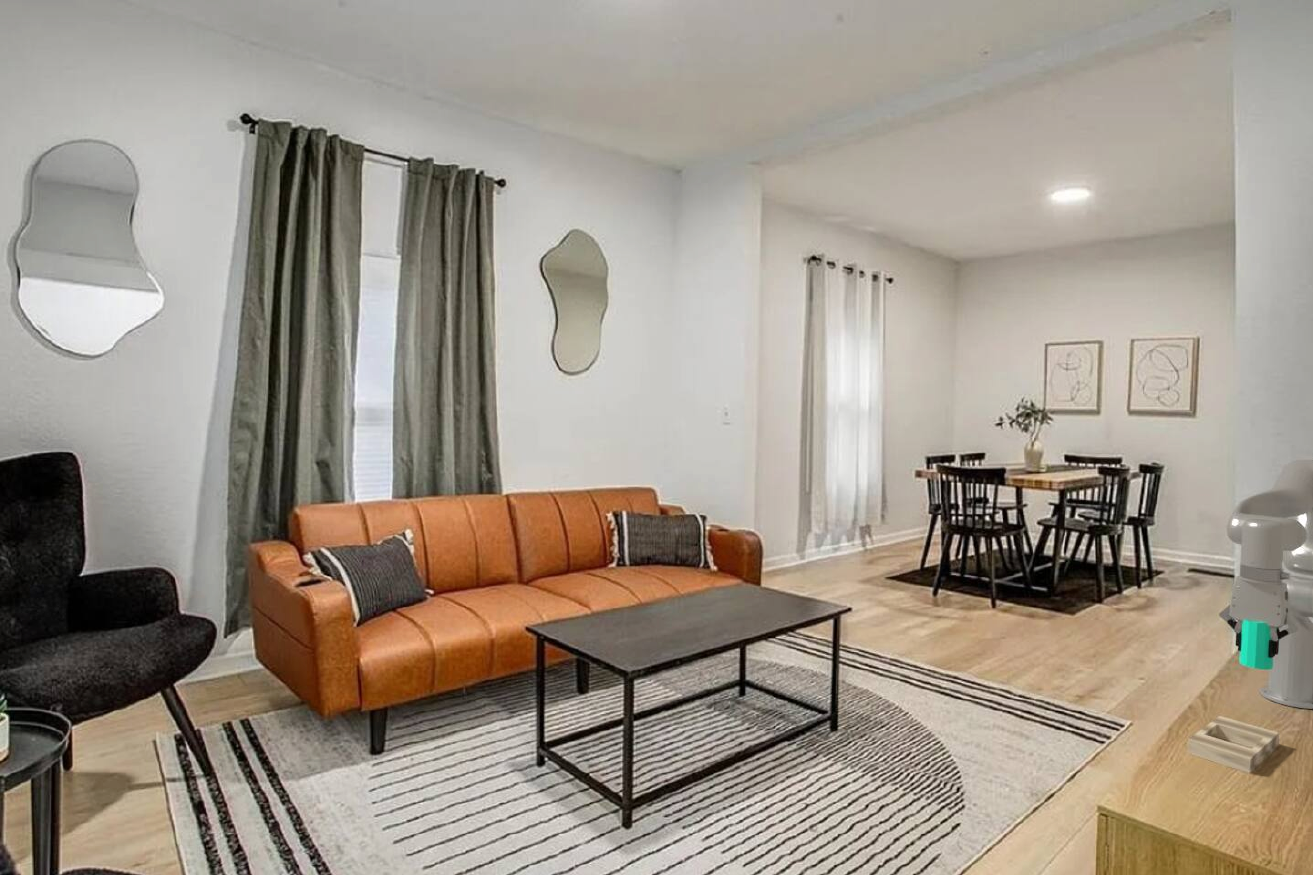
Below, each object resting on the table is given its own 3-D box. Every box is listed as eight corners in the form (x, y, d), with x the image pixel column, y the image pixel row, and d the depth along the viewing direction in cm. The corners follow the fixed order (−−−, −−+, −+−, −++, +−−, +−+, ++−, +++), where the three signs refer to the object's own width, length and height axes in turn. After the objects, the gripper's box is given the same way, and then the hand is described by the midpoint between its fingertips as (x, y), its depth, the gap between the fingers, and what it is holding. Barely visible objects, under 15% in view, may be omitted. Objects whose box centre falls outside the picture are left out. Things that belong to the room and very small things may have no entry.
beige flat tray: (1218, 728, 176) (1219, 715, 175) (1278, 745, 167) (1279, 732, 167) (1187, 752, 164) (1187, 739, 163) (1249, 773, 155) (1250, 759, 155)
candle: (1278, 670, 169) (1281, 617, 168) (1248, 668, 170) (1251, 615, 169) (1262, 661, 175) (1265, 610, 174) (1233, 659, 176) (1236, 608, 175)
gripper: (1313, 579, 167) (1308, 660, 168) (1221, 565, 180) (1217, 640, 181) (1304, 583, 162) (1299, 667, 163) (1210, 569, 176) (1206, 646, 177)
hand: (1256, 652), depth 172 cm, fingers closed on candle, 4 cm apart
